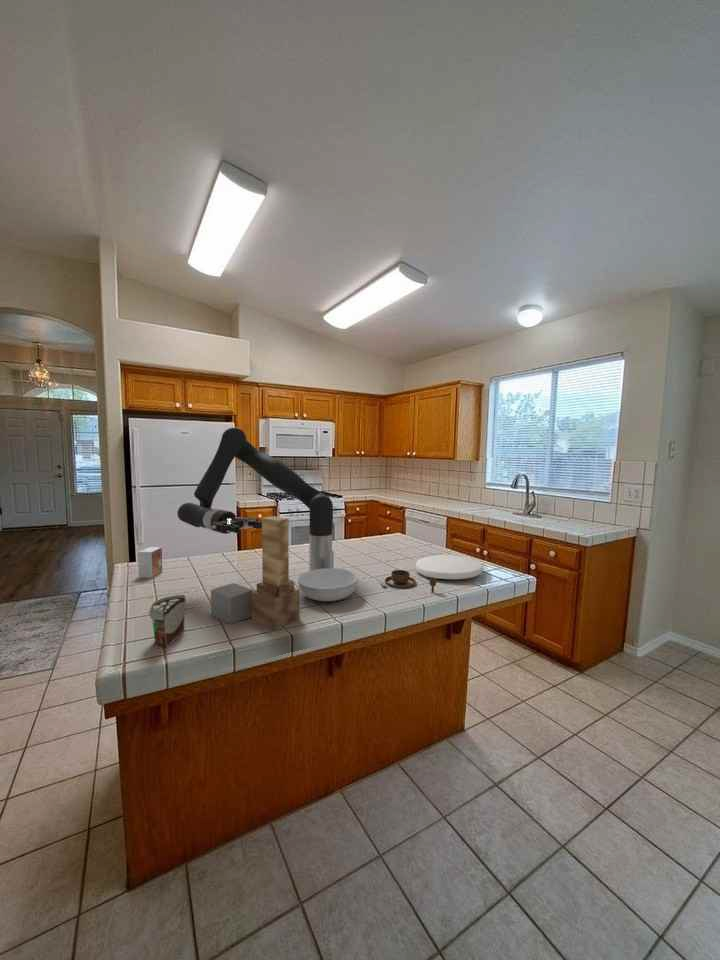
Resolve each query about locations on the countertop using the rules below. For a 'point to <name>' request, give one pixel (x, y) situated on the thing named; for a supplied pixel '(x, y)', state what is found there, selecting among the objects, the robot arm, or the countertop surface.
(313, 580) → the serving bowl
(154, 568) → the small box
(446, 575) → the plate
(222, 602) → the slate block
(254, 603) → the walnut rack
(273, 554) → the oak board
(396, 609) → the countertop surface
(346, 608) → the countertop surface
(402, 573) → the place setting
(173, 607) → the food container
